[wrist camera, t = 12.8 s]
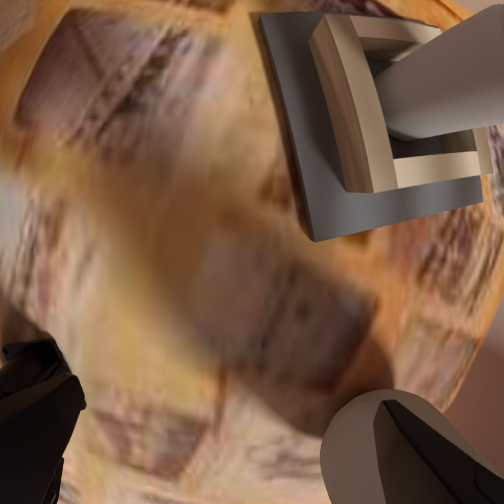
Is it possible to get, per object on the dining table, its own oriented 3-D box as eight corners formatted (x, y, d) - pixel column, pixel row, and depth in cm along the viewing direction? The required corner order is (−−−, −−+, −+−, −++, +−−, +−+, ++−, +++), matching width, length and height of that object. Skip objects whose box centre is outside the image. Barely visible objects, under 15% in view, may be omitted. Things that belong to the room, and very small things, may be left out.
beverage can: (392, 64, 16) (516, -9, 4) (433, 119, 17) (572, 90, 5) (348, 96, 16) (487, 9, 4) (395, 157, 17) (557, 139, 5)
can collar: (310, 239, 18) (336, 254, 14) (258, 21, 15) (267, -17, 11) (475, 201, 19) (514, 205, 15) (431, 30, 16) (462, 11, 12)
